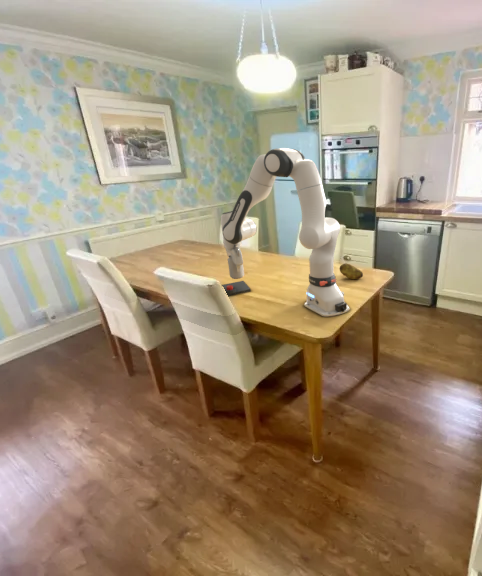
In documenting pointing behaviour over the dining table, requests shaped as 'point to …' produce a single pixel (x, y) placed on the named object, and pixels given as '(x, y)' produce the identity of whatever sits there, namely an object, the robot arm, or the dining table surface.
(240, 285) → the scale
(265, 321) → the dining table surface
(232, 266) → the can
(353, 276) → the potato
